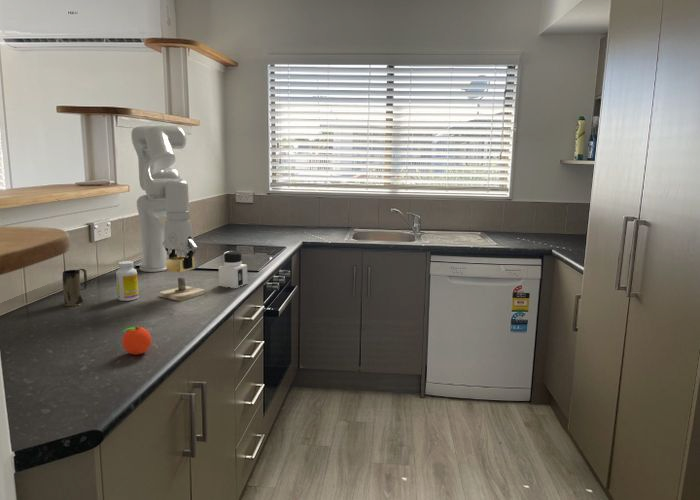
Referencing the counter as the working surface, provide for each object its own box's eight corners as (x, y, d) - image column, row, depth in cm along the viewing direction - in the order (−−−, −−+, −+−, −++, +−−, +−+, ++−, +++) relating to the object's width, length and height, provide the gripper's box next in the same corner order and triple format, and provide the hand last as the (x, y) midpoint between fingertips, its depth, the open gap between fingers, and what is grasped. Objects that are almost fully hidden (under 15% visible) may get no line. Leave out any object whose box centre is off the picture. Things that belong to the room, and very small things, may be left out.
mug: (60, 305, 175) (57, 270, 173) (71, 301, 180) (68, 266, 178) (82, 307, 174) (79, 271, 172) (93, 302, 179) (90, 267, 177)
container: (248, 284, 204) (247, 250, 202) (235, 288, 198) (234, 254, 195) (231, 281, 208) (230, 248, 205) (218, 286, 201) (217, 252, 198)
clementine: (114, 359, 133) (112, 331, 131) (124, 348, 140) (122, 322, 138) (147, 358, 133) (145, 331, 132) (155, 348, 140) (154, 322, 139)
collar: (166, 270, 186) (165, 258, 185) (181, 266, 192) (180, 255, 191) (180, 272, 182) (179, 260, 182) (195, 268, 188) (194, 257, 187)
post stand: (159, 296, 187) (158, 279, 186) (183, 289, 196) (182, 273, 195) (181, 301, 182) (180, 284, 180) (205, 293, 191) (204, 277, 190)
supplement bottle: (143, 297, 186) (140, 261, 183) (129, 302, 180) (126, 265, 177) (127, 295, 188) (124, 259, 185) (113, 300, 182) (110, 263, 179)
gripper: (152, 215, 185) (155, 266, 188) (187, 219, 176) (190, 272, 179) (169, 213, 191) (172, 262, 194) (204, 217, 182) (206, 268, 186)
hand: (180, 266), depth 187 cm, fingers closed on collar, 6 cm apart
